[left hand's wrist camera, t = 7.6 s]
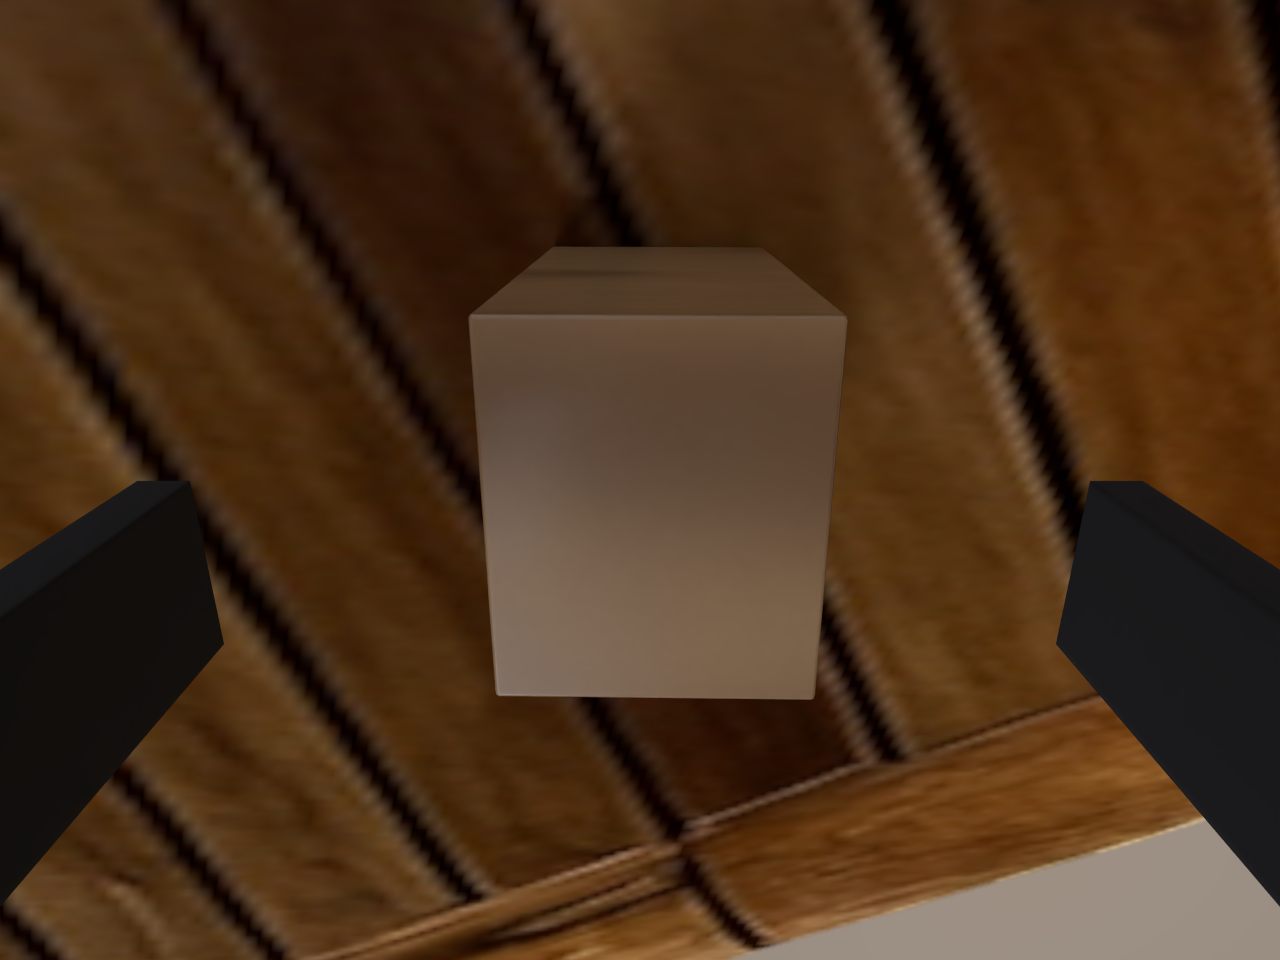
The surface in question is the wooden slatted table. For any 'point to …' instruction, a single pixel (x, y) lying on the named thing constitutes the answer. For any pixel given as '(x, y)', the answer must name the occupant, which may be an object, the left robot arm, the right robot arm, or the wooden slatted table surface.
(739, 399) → the block
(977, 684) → the wooden slatted table surface
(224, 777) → the wooden slatted table surface
